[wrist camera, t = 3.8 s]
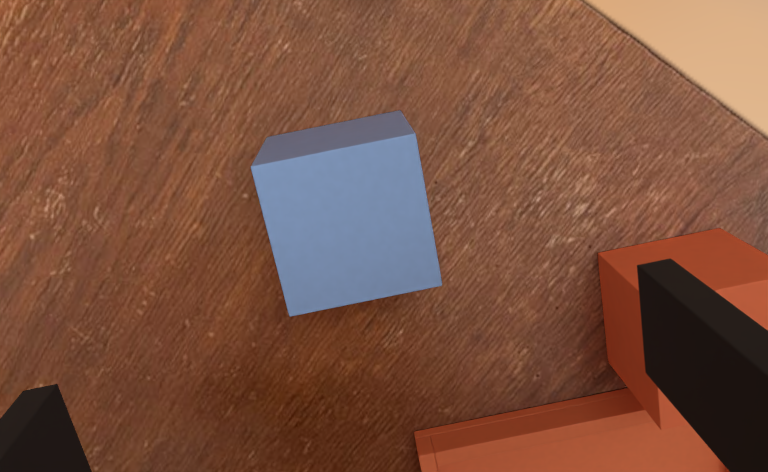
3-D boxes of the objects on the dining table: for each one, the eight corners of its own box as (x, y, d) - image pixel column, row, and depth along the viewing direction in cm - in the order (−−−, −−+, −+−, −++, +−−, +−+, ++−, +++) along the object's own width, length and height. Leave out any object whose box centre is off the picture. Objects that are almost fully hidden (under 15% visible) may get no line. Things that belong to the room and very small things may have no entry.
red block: (719, 227, 33) (799, 272, 27) (723, 338, 35) (799, 402, 29) (596, 252, 33) (651, 303, 27) (607, 362, 35) (660, 430, 29)
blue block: (400, 109, 30) (415, 133, 25) (423, 237, 32) (442, 286, 26) (266, 137, 30) (250, 166, 25) (297, 262, 32) (289, 317, 26)
